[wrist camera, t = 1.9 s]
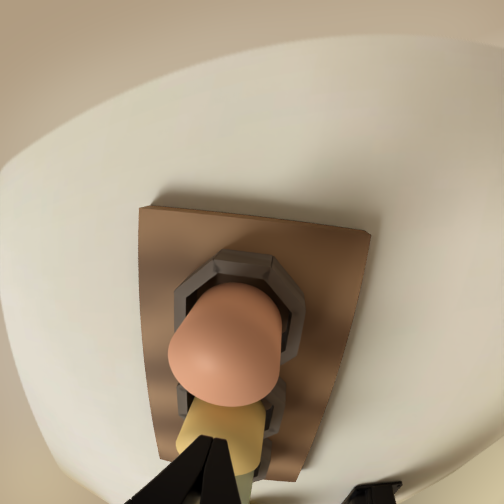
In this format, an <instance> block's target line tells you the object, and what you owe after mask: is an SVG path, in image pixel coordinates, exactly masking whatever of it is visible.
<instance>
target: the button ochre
mask: <svg viewBox="0 0 504 504" xmlns="http://www.w3.org/2000/svg"><path fill="white" fill-rule="evenodd" d="M265 418H266V410H265V407H264V405H263V403H262V402H261V400H259V401H257V402H254V403H252V404H249V405H244V406H237V407H227V406H219V405H215V404H211V403H208V402H206V401H203V400H201V399H199V398H197V397H196V396H195V397H194V400H193V402H192V404H191V407H190V409H189V411H188V414H187V416H186V419H185V421H184V423H183V426H182V428H181V430H180V433H179V435H178V438H177V440H176V449H177V451H178V453H179V454H181V453H182V452H183V451H184V450H185V449H186V448H187V447H188V446H189V445H190V444H191V443H192V442H193V441H194V440H195V439H196V438H197V437H198V436H199V435H207V436H212V437H213V439H214V438H215V437H217V438H222V439H226V440H227V442H228V447H229V452H230V456H231V461H232V465H233V469H234V474H235V476H237V475H243V474H247V473H249V472H251V471H253V470H255V469H256V468H257V467H258V465H259V463H260V459H261V451H262V443H263V435H264V427H265Z"/></svg>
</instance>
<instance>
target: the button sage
mask: <svg viewBox="0 0 504 504" xmlns="http://www.w3.org/2000/svg"><path fill="white" fill-rule="evenodd" d="M253 476H254V470H253V471H251V472H249V473H247V474H243V475H237V476H235V478H236V482H237V487H238V491H239V495H240V499H241V503H242V504H249V502H250V495H251V489H252V482H253ZM199 504H200V503H199Z"/></svg>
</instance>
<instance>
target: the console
mask: <svg viewBox="0 0 504 504" xmlns="http://www.w3.org/2000/svg"><path fill="white" fill-rule="evenodd" d="M370 239H371V235H370V234H369V233H367V232H366V231H364V230H357V229H350V228H343V227H336V226H329V225H322V224H315V223H307V222H299V221H292V220H284V219H276V218H267V217H259V216H250V215H241V214H232V213H223V212H214V211H204V210H194V209H183V208H172V207H161V206H145V207H141V208H139V230H138V267H139V298H140V316H141V331H142V343H143V353H144V363H145V371H146V380H147V387H148V394H149V401H150V408H151V414H152V420H153V426H154V431H155V437H156V442H157V447H158V452H159V456H160V459H163V460H166V461H170V462H172V461H173V460H174V459H175V458H177V457H178V456H179V455H180V454H179V453H178V451H177V449H176V440H177V438H178V435H179V433H180V430H181V428H182V426H183V423H184V421H185V419H186V416H187V414H188V411H189V409H190V407H191V404H192V402H193V400H194V397H195V396H194V395H193V394H191V393H190V392H188V391H187V390H186V389H185V388H184V387H183V386H182V385H181V384H180V383H179V382H178V380H177V379H176V378H175V376H174V374H173V373H172V370H171V368H170V365H169V361H168V348H169V344H170V341H171V339H172V337H173V335H174V334H175V332H176V331H177V329H178V328H179V326H180V325H181V324H182V322H183V321H184V319H185V318H186V316H187V315H188V313H189V312H190V311H191V309H192V308H193V306H194V305H195V304H196V302H197V301H198V299H199V298H200V297H201V296H202V294H203V293H205V292H206V291H207V290H208V289H210V288H212V287H214V286H216V285H219V284H222V283H228V282H238V283H244V284H248V285H251V286H254V287H256V288H258V289H260V290H261V291H263V292H264V293H266V294H267V295H268V296H269V297H270V298H271V299H272V300H273V302H274V303H275V304H276V306H277V308H278V310H279V312H280V315H281V319H282V337H281V356H280V372H279V377H278V381H277V383H276V385H275V386H274V388H273V389H272V391H271V392H270V393H269V394H268V395H266V396H265V397H264V398H262V399H261V402H262V403H263V405H264V407H265V410H266V418H265V427H264V435H263V443H262V451H261V459H260V463H259V465H258V467H257V468H256V469H255V470H254V476H253V482H255V481H259V480H263V479H264V480H274V481H287V482H296V480H297V478H298V475H299V473H300V471H301V469H302V466H303V464H304V462H305V459H306V457H307V455H308V452H309V450H310V448H311V445H312V443H313V440H314V438H315V435H316V433H317V430H318V427H319V425H320V422H321V420H322V417H323V414H324V411H325V409H326V406H327V403H328V400H329V397H330V394H331V391H332V388H333V385H334V382H335V379H336V376H337V373H338V370H339V367H340V363H341V360H342V357H343V353H344V350H345V347H346V343H347V340H348V336H349V332H350V329H351V325H352V321H353V317H354V313H355V309H356V305H357V301H358V297H359V293H360V288H361V284H362V279H363V275H364V270H365V265H366V260H367V255H368V250H369V244H370Z"/></svg>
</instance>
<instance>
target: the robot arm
mask: <svg viewBox="0 0 504 504" xmlns="http://www.w3.org/2000/svg"><path fill="white" fill-rule="evenodd" d="M402 485H403V484H402V482H393V483H385V484H375V485H364V486H356V487H354V488H353V490H352V491H351V492H350V494H349V495H348V496H347V498H346V499H345V500H344V501H343V503H342V504H396V500H395V496H394V494H395V493H396V492H397V491H398V489H399V488H400V487H401V486H402ZM131 499H132V500H131ZM131 499H129V500H128V501H127V502H125V503H124V504H199V503H200V504H242V503H241V499H240V495H239V491H238V487H237V482H236V478H235V474H234V469H233V465H232V461H231V456H230V452H229V447H228V442H227V440H226V439H222V438H217V437H215V438H214V439H213V437H212V436H207V435H199V436H198V437H197V438H196V439H195V440H194V441H193V442H192V443H191V444H190V445H189V446H188V447H187V448H186V449H185V450H184V451H183V452H182V453H181V454H180V455H179V456H178V457H177V458H175V459H174V460H173V461H172V462H171V463H170V464H169V465H168V466H167V467H166V468H165V469H164V470H162V471H161V472H160V473H159V474H158V475H157V476H156V477H155V478H154V479H152V480H151V481H150V482H149V483H148V484H147V485H146V486H144V487H143V488H142V489H141V490H140V491H139V492H137V493H136V494H135V495H134V496H133V497H132V498H131Z"/></svg>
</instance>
